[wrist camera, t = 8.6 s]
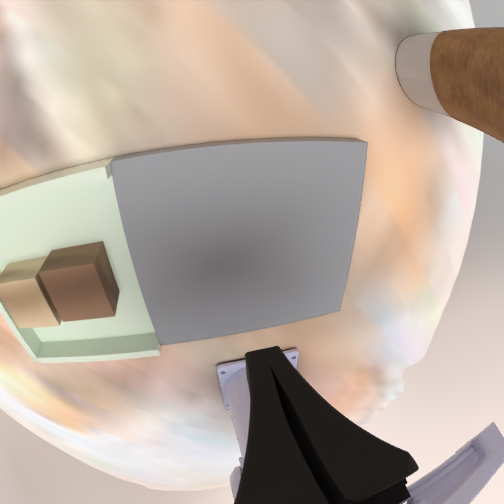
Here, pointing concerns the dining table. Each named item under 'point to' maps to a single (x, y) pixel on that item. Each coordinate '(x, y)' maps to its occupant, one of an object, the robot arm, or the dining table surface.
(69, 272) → the walnut tile
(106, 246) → the tray
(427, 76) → the coffee cup
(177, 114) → the dining table surface
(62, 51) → the dining table surface
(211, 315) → the slate board
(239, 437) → the robot arm
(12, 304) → the oak tile
